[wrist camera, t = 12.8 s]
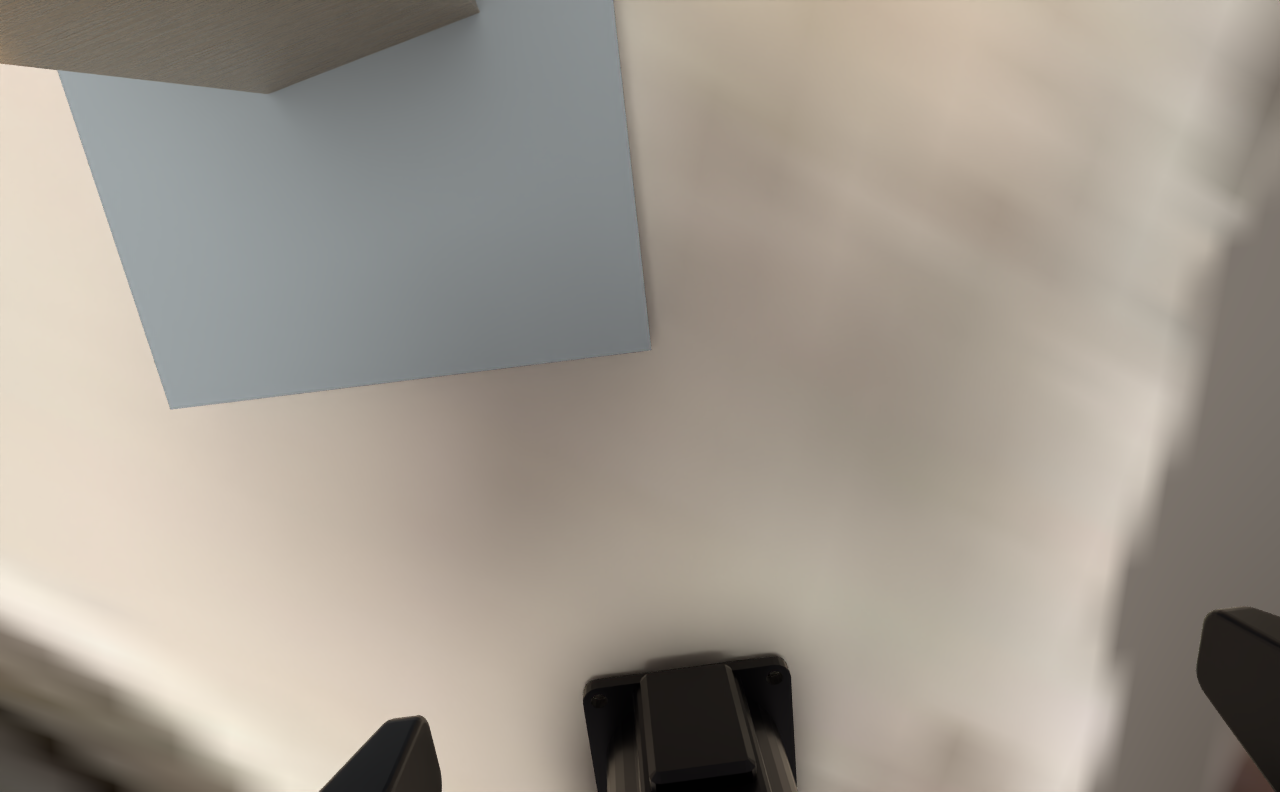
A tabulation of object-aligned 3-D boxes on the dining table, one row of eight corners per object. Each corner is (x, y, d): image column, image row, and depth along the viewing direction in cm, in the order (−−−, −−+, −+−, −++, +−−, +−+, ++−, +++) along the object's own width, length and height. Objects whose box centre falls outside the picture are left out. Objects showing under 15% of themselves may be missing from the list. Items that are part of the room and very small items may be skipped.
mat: (647, 335, 21) (651, 350, 19) (199, 390, 20) (170, 409, 19) (575, -310, 16) (574, -353, 15) (-3, -249, 16) (-62, -287, 14)
